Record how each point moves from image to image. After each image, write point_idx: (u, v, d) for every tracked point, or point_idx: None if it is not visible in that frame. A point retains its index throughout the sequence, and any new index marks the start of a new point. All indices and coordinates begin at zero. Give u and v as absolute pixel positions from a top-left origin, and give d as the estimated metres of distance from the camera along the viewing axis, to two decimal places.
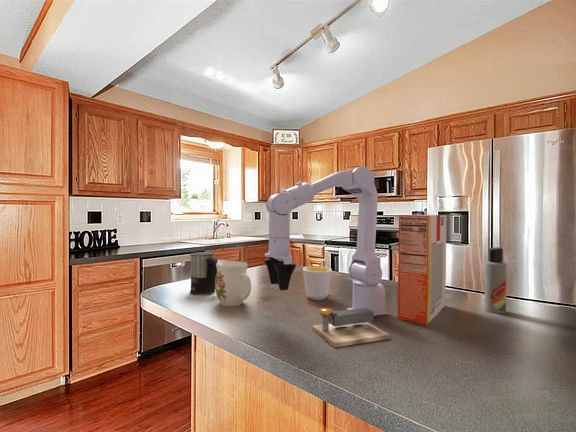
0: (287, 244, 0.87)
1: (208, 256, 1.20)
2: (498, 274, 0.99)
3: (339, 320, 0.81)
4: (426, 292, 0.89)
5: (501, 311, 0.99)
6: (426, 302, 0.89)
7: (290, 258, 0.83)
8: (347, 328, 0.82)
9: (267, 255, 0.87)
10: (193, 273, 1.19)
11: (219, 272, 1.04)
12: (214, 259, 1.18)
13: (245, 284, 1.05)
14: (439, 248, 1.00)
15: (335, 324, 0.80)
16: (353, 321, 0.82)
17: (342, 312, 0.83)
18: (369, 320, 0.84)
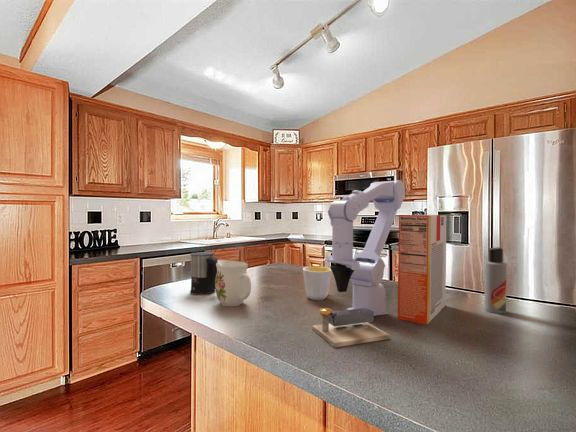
0: (351, 250, 0.89)
1: (208, 256, 1.20)
2: (498, 274, 0.99)
3: (339, 320, 0.81)
4: (426, 292, 0.89)
5: (501, 311, 0.99)
6: (426, 302, 0.89)
7: (358, 264, 0.84)
8: (347, 328, 0.82)
9: (332, 261, 0.89)
10: (194, 273, 1.20)
11: (219, 272, 1.04)
12: (214, 259, 1.19)
13: (245, 284, 1.05)
14: (439, 248, 1.00)
15: (335, 324, 0.80)
16: (353, 321, 0.82)
17: (342, 312, 0.83)
18: (369, 320, 0.84)
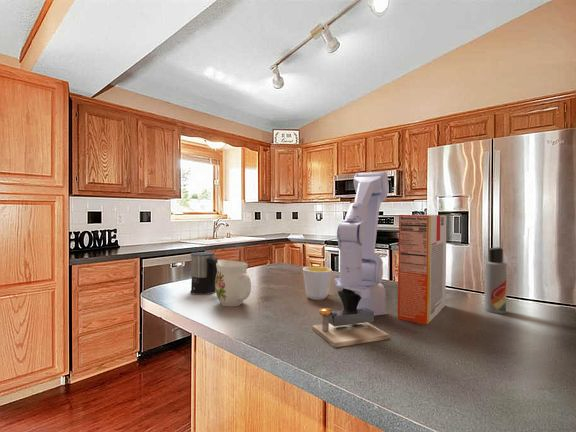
0: (360, 275, 0.85)
1: (208, 256, 1.20)
2: (498, 274, 0.99)
3: (339, 320, 0.80)
4: (426, 292, 0.89)
5: (501, 311, 0.99)
6: (426, 302, 0.89)
7: (367, 291, 0.80)
8: (347, 328, 0.82)
9: (340, 286, 0.84)
10: (194, 273, 1.20)
11: (219, 272, 1.04)
12: (214, 259, 1.19)
13: (245, 284, 1.05)
14: (439, 248, 1.00)
15: (335, 324, 0.80)
16: (353, 321, 0.82)
17: (342, 312, 0.83)
18: (369, 320, 0.83)
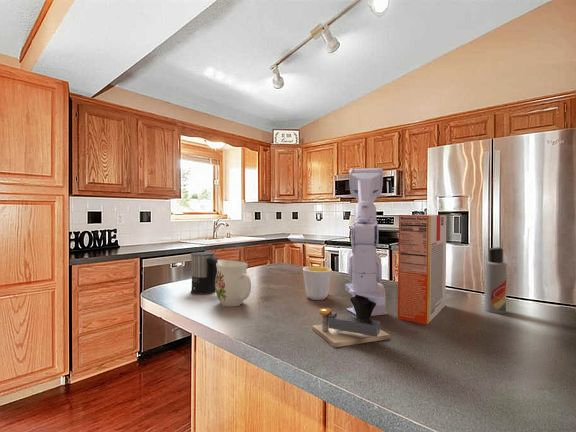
0: (375, 280, 0.79)
1: (209, 256, 1.20)
2: (498, 274, 0.99)
3: (334, 323, 0.78)
4: (426, 292, 0.89)
5: (501, 311, 0.99)
6: (426, 302, 0.89)
7: (384, 298, 0.74)
8: None
9: (353, 293, 0.78)
10: (194, 273, 1.20)
11: (219, 272, 1.04)
12: (214, 259, 1.19)
13: (245, 284, 1.05)
14: (439, 248, 1.00)
15: (330, 326, 0.79)
16: (351, 329, 0.76)
17: (345, 317, 0.79)
18: (371, 334, 0.74)
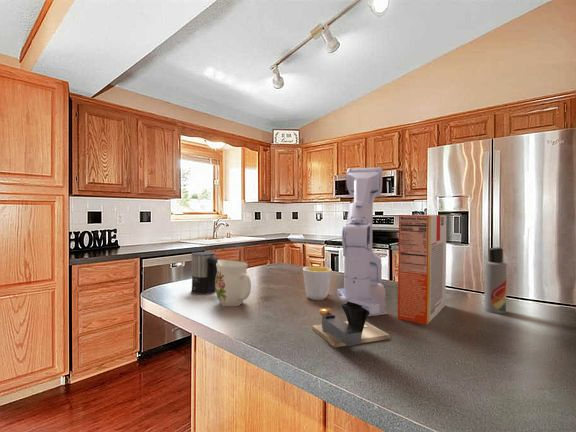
0: (368, 285, 0.73)
1: (209, 256, 1.21)
2: (498, 274, 0.99)
3: (324, 324, 0.78)
4: (426, 292, 0.89)
5: (501, 311, 0.99)
6: (426, 302, 0.89)
7: (377, 306, 0.68)
8: None
9: (344, 299, 0.72)
10: (194, 273, 1.20)
11: (219, 272, 1.04)
12: (215, 259, 1.19)
13: (245, 284, 1.05)
14: (439, 248, 1.00)
15: (322, 326, 0.79)
16: (333, 332, 0.74)
17: (336, 321, 0.76)
18: (344, 342, 0.69)
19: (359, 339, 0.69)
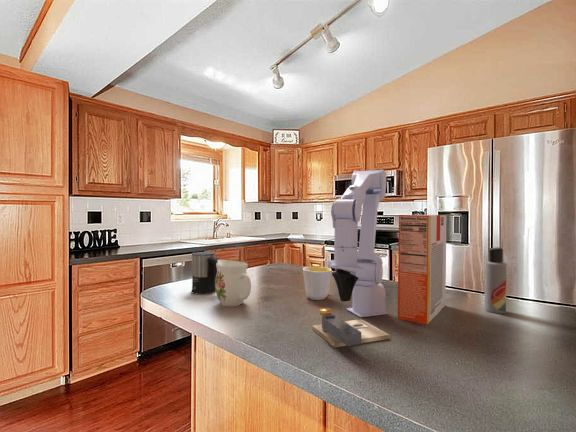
0: (356, 254, 0.80)
1: (209, 256, 1.21)
2: (498, 274, 0.99)
3: (324, 324, 0.78)
4: (426, 292, 0.89)
5: (501, 311, 0.99)
6: (426, 302, 0.89)
7: (363, 270, 0.75)
8: None
9: (334, 266, 0.80)
10: (194, 273, 1.20)
11: (219, 272, 1.04)
12: (215, 259, 1.19)
13: (245, 284, 1.05)
14: (439, 248, 1.00)
15: (322, 326, 0.79)
16: (333, 332, 0.74)
17: (336, 321, 0.76)
18: (344, 342, 0.69)
19: (359, 339, 0.69)
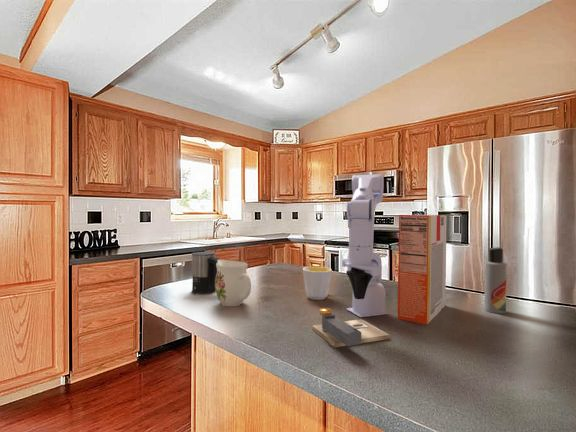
0: (370, 253, 0.82)
1: (209, 256, 1.21)
2: (498, 274, 0.99)
3: (324, 324, 0.78)
4: (426, 292, 0.89)
5: (501, 311, 0.99)
6: (426, 302, 0.89)
7: (378, 269, 0.77)
8: None
9: (349, 265, 0.82)
10: (195, 272, 1.20)
11: (219, 272, 1.04)
12: (215, 259, 1.19)
13: (245, 284, 1.05)
14: (439, 248, 1.00)
15: (322, 326, 0.79)
16: (333, 332, 0.74)
17: (336, 321, 0.76)
18: (344, 342, 0.69)
19: (359, 339, 0.69)
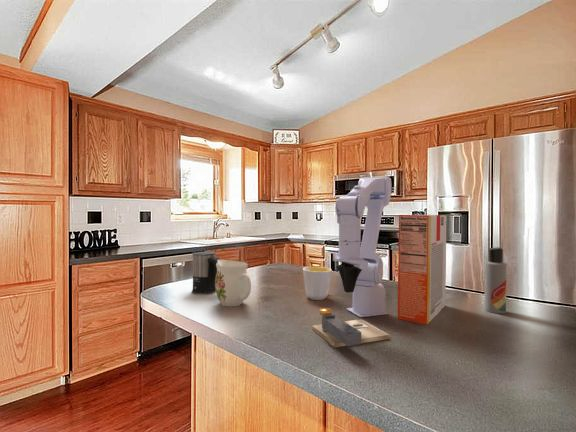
0: (359, 248, 0.85)
1: (210, 256, 1.21)
2: (498, 274, 0.99)
3: (324, 324, 0.78)
4: (426, 292, 0.89)
5: (501, 311, 0.99)
6: (426, 302, 0.89)
7: (366, 263, 0.80)
8: None
9: (339, 259, 0.84)
10: (195, 272, 1.21)
11: (219, 272, 1.04)
12: (215, 259, 1.19)
13: (245, 284, 1.05)
14: (439, 248, 1.00)
15: (322, 326, 0.79)
16: (333, 332, 0.74)
17: (336, 321, 0.76)
18: (344, 342, 0.69)
19: (359, 339, 0.69)
